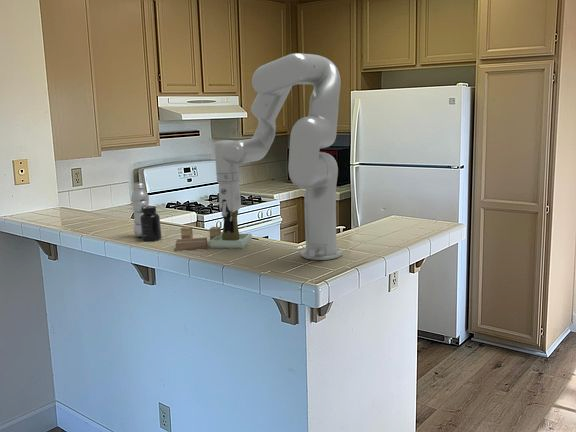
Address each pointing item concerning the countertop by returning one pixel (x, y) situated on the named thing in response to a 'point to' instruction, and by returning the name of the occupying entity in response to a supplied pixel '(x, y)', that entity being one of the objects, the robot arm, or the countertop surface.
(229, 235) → the cork
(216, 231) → the bench dogs
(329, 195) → the robot arm
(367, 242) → the countertop surface
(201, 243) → the wooden block
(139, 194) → the plastic bottle
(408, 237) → the countertop surface
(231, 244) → the tray
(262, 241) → the countertop surface
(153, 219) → the supplement bottle
